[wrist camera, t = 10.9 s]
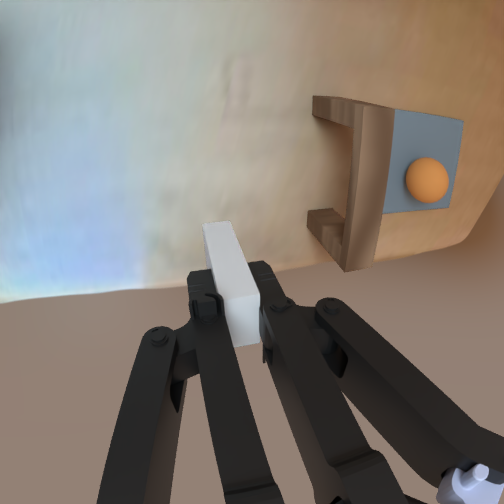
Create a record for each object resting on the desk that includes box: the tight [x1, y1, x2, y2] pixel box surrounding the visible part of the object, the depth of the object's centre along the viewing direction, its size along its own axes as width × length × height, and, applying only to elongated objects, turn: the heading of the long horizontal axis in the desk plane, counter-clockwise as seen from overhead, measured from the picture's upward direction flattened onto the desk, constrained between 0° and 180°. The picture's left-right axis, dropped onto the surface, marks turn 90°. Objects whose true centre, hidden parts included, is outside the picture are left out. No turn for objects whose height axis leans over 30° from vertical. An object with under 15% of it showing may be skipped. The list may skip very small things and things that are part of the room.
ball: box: [406, 157, 449, 203], centre depth 33 cm, size 6×6×6 cm
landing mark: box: [382, 109, 464, 214], centre depth 35 cm, size 13×13×1 cm
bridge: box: [307, 96, 395, 272], centre depth 28 cm, size 3×14×9 cm, turn 1°
